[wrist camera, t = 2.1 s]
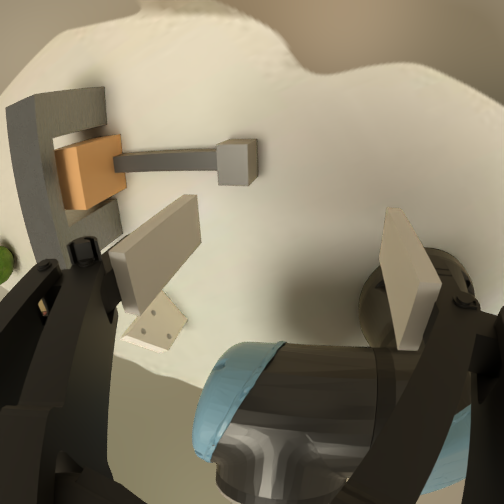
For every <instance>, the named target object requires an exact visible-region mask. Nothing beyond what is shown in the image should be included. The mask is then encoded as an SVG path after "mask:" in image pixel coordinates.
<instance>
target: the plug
mask: <svg viewBox="0 0 504 504" xmlns="http://www.w3.org/2000/svg"><path fill="white" fill-rule="evenodd" d="M54 153H55V160H56V167H57V173H58V179H59V184H60V189H61V194H62V199H63V204H64V209H65V210H88V209H89V208H91V207H93V206H94V205H96V204H98V203H100V202H102V201H103V200H105V199H107V198H109V197H111V196H112V195H114V194H116V193H118V192H120V191H122V190H124V189H126V188H127V186H126V179H125V172H148V171H218V185H228V186H249V185H250V184H251V183H252V182H253V181H254V180H255V179H256V178H257V177H258V160H257V139H229V140H226V141H224V142H221V143H219V144H216V149H185V150H164V151H148V152H135V153H123V154H122V147H121V137H120V134H118V135H111V136H104V137H97V138H91V139H88V140H84V141H81V142H78V143H74V144H71V145H68V146H64V147H61V148H58V149H55V150H54Z"/></svg>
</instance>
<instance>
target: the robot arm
mask: <svg viewBox="0 0 504 504" xmlns="http://www.w3.org/2000/svg"><path fill="white" fill-rule="evenodd" d="M201 243H202V242H201V233H200V222H199V212H198V201H197V195H182V196H181V197H180V198H178V199H177V200H175V201H174V202H173V203H171V204H170V205H168V206H167V207H166V208H164V209H163V210H161V211H160V212H159V213H157V214H156V215H155V216H153V217H152V218H151V219H149V220H148V221H147V222H145V223H144V224H143V225H141V226H140V227H139V228H137V229H136V230H135V231H133V232H132V233H131V234H129V235H126V236H125V237H124V238H122V239H121V240H120V241H119V242H117V243H116V244H115V245H114V246H112V247H111V248H110V249H108V250H107V251H106V252H105V253H103V254H102V255H101V252H100V248H99V244H98V240H97V238H96V237H95V236H84V237H80V238H77V239H75V240H73V241H71V242H70V243H68V244H67V245H66V247H67V250H68V254H69V257H70V261H71V264H72V266H71V268H70V269H61V268H60V265H59V262H58V260H57V259H45V260H42V261H40V262H39V263H37V264H36V265H35V266H33V267H32V268H31V270H30V271H29V272H28V273H27V274H26V275H25V276H24V277H23V278H22V279H21V280H20V281H19V282H18V283H17V284H16V285H15V286H14V287H13V288H12V289H11V291H10V292H9V293H8V294H7V295H6V296H5V297H4V298H3V299H2V301H1V302H0V504H147V503H145V502H144V501H142V500H141V499H140V498H138V497H137V496H136V495H134V494H133V493H132V492H130V491H129V490H128V489H127V488H125V487H124V486H123V485H121V484H120V483H117V482H115V481H114V480H113V476H112V473H111V470H110V468H109V465H108V462H107V427H108V426H107V425H108V406H109V392H110V380H111V370H112V359H113V351H114V343H115V335H116V328H117V321H118V311H117V308H116V306H117V305H118V304H119V302H120V301H122V305H123V308H124V311H125V313H129V314H133V315H138V316H141V315H142V314H143V312H144V311H145V310H146V309H147V307H148V306H149V305H150V304H151V302H152V301H153V300H154V299H155V298H156V296H157V295H158V294H159V293H160V292H161V290H162V289H163V288H164V287H165V285H166V284H167V283H168V282H169V281H170V279H171V278H172V277H173V276H174V275H175V273H176V272H177V271H178V270H179V269H180V267H181V266H182V265H183V264H184V263H185V262H186V260H187V259H188V258H189V257H190V256H191V254H192V253H193V252H194V251H195V250H196V249H197V247H198V246H199V245H200V244H201ZM379 261H380V266H379V267H378V268H377V269H376V270H375V271H374V272H373V273H372V275H371V276H370V277H369V278H368V280H367V282H366V283H365V285H364V287H363V289H362V292H361V295H360V299H359V320H360V326H361V329H362V332H363V335H364V336H365V338H366V340H367V341H368V343H369V345H370V347H347V346H322V345H304V344H289V343H287V342H284V341H279V342H277V343H263V342H242V343H238V344H236V345H234V346H232V347H231V348H229V349H228V350H227V351H226V352H225V353H224V354H223V355H222V356H221V357H220V359H219V360H218V361H217V363H216V364H215V366H214V368H213V370H212V372H211V373H210V375H209V377H208V379H207V381H206V383H205V386H204V388H203V390H202V393H201V396H200V399H199V402H198V405H197V409H196V413H195V418H194V423H193V431H192V442H193V447H194V449H195V453H196V454H197V456H198V457H199V458H201V459H203V460H205V461H206V462H212V463H213V462H215V463H216V464H217V469H216V486H217V488H218V490H219V492H220V493H221V494H222V495H223V496H224V497H225V498H227V499H228V500H229V501H231V504H416V502H417V500H418V498H419V496H420V495H423V494H427V493H430V492H433V491H436V490H439V489H442V488H445V487H447V486H450V485H452V484H454V483H457V482H459V481H461V480H463V479H465V478H466V480H465V486H464V492H463V498H462V503H461V504H504V306H503V307H502V308H501V310H500V312H499V314H498V316H496V315H493V314H489V313H486V312H483V311H480V304H479V302H478V301H477V299H476V298H475V294H474V287H473V284H472V281H471V279H470V277H469V275H468V273H467V272H466V270H465V269H464V267H463V266H462V264H461V263H460V262H459V261H458V260H457V259H456V258H455V257H453V256H452V255H450V254H448V253H446V252H444V251H441V250H437V249H432V248H424V247H423V245H422V244H421V242H420V240H419V238H418V236H417V235H416V233H415V231H414V229H413V228H412V226H411V224H410V222H409V221H408V219H407V217H406V216H405V214H404V212H403V211H402V209H399V208H390V207H387V208H386V216H385V223H384V230H383V236H382V242H381V248H380V254H379ZM41 299H42V302H43V304H44V306H45V309H46V311H47V312H46V314H45V315H43V314H42V312H41V310H40V308H39V305H38V304H39V302H40V300H41ZM347 478H349V480H348V481H347V482H346V479H347Z"/></svg>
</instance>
